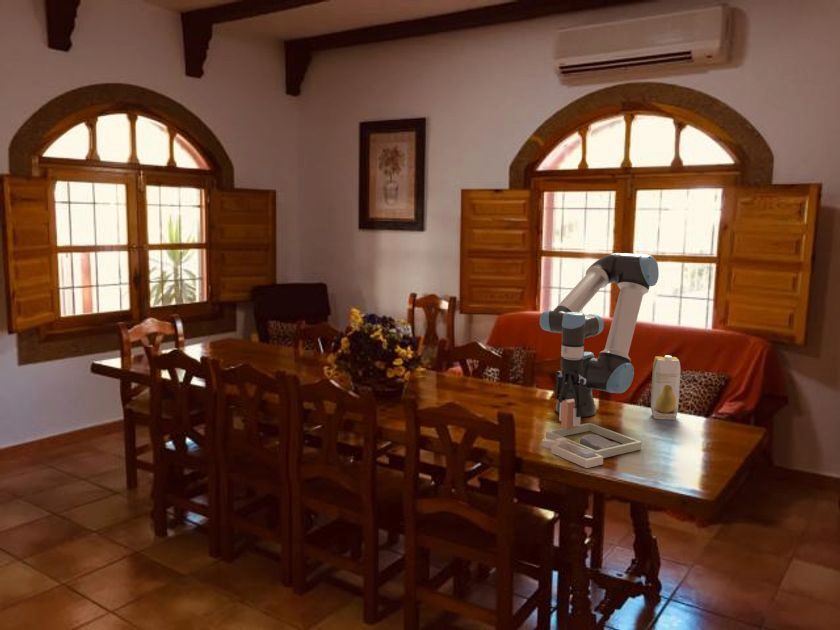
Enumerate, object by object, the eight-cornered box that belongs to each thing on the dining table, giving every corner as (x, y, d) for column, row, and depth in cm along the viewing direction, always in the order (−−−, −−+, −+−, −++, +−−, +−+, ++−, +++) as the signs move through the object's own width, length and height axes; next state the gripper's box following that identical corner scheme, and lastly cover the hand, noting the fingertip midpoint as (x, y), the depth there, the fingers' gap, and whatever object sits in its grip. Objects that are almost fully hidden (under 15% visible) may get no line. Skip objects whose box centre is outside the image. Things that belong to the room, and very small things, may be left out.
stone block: (597, 447, 244) (575, 446, 239) (600, 434, 243) (578, 432, 238) (623, 459, 233) (600, 459, 228) (626, 445, 233) (604, 444, 228)
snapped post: (542, 447, 239) (542, 440, 238) (545, 445, 241) (545, 438, 240) (555, 450, 236) (555, 443, 235) (558, 448, 238) (558, 441, 237)
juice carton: (652, 419, 269) (656, 356, 266) (649, 413, 277) (652, 352, 273) (678, 420, 268) (682, 357, 264) (674, 414, 276) (678, 353, 272)
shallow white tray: (544, 437, 247) (545, 403, 245) (587, 428, 257) (589, 396, 255) (596, 459, 226) (597, 422, 224) (641, 449, 236) (643, 413, 234)
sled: (549, 451, 232) (550, 439, 232) (565, 448, 236) (566, 436, 235) (586, 468, 218) (586, 455, 218) (602, 464, 222) (603, 451, 221)
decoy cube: (576, 462, 224) (576, 450, 223) (585, 460, 226) (586, 448, 226) (585, 466, 221) (585, 454, 220) (594, 464, 223) (595, 451, 222)
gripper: (545, 353, 253) (543, 417, 256) (583, 364, 236) (580, 432, 240) (561, 351, 256) (559, 414, 260) (600, 361, 240) (597, 428, 244)
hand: (569, 422), depth 250 cm, fingers open, 6 cm apart
